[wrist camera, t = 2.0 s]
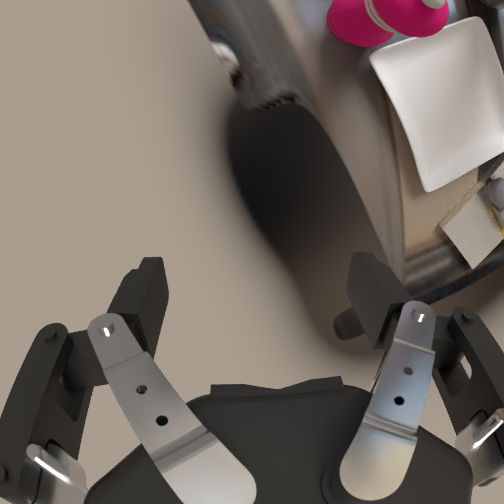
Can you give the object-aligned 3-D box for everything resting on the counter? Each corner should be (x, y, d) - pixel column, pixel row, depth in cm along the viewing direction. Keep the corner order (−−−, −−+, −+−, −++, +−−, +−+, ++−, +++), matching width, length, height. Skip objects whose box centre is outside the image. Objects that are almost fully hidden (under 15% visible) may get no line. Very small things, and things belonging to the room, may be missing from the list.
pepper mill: (389, 24, 24) (494, 14, 8) (356, 59, 28) (448, 66, 12) (345, -14, 22) (422, -66, 6) (310, 21, 26) (364, -19, 10)
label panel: (507, 144, 31) (519, 151, 29) (530, 198, 36) (539, 207, 33) (437, 223, 41) (446, 234, 39) (469, 264, 46) (476, 275, 44)
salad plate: (508, 136, 31) (520, 143, 28) (417, 187, 38) (427, 197, 36) (468, 14, 21) (482, 14, 18) (356, 55, 28) (365, 55, 25)
